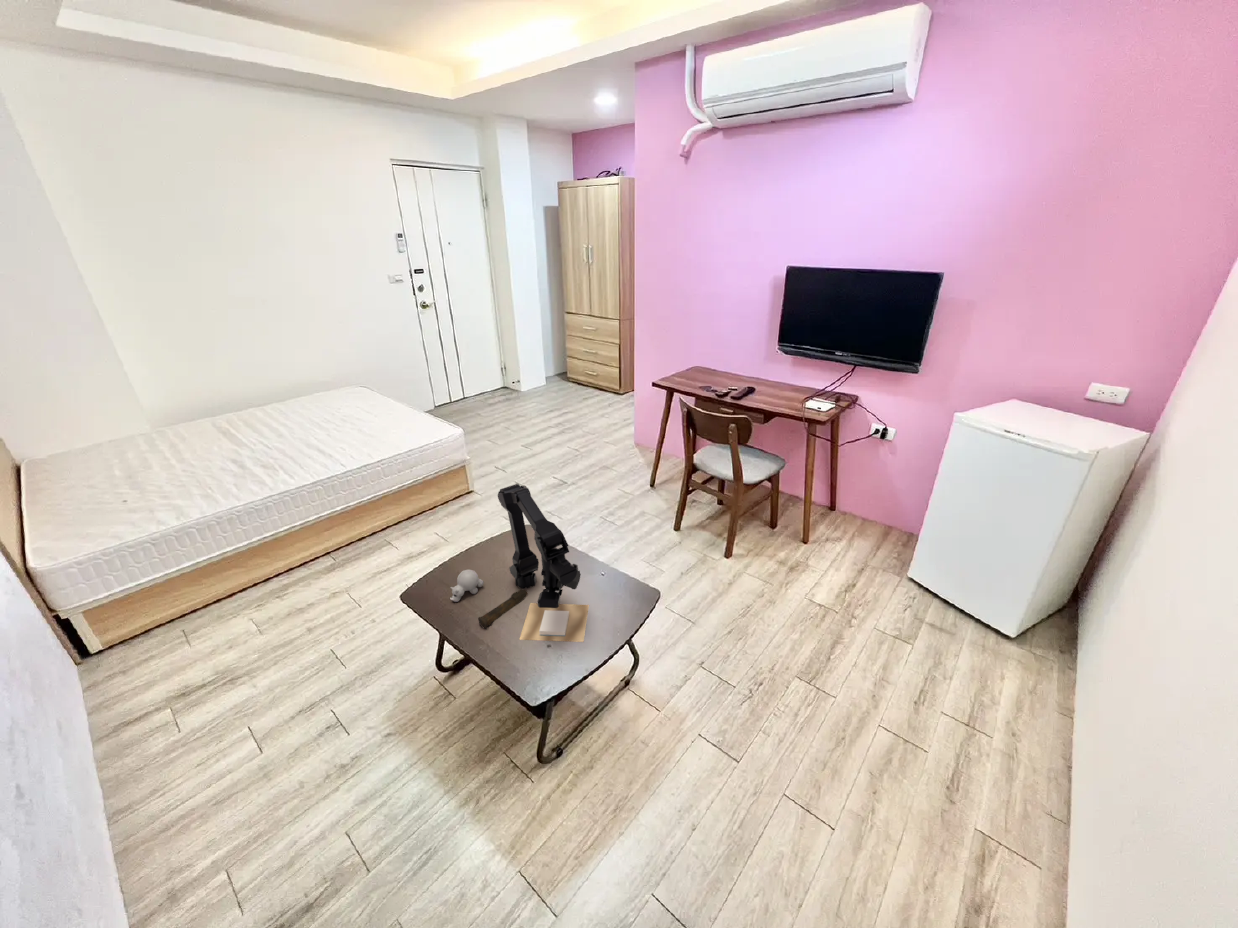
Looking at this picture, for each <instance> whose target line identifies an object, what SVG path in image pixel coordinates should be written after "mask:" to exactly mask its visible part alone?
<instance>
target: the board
mask: <svg viewBox="0 0 1238 928" xmlns="http://www.w3.org/2000/svg"><path fill="white" fill-rule="evenodd" d="M589 607H590V605H589V604H573V603H571V604H570V603H559V607H558V608H539V607H538V602H537V603H536V602H530V604H529V606H528V610H527V613H526V616H525V619H524V622H523V623H524V624H523V627H522V628H521V629H522V630H521V633H520V637H519V639H518V640H520V641H544V642H545V641H546V642H548V641H549V642H570V643H571V642H572V643H573V642H574V643H576V642H577V643H584V641H585V637H586V636H585V634H586V629H587V622H588V614H589ZM545 610H551V611H569V619H568V624H567V630H566V635H565V636H543V635H540V633H539V630H540V627H541V623H542V619H543V615H544V611H545Z"/></svg>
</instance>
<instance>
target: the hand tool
mask: <svg viewBox="0 0 1238 928" xmlns="http://www.w3.org/2000/svg"><path fill="white" fill-rule="evenodd" d="M528 595H529V594H528V591H527V589H525V588H520V589H519V590H517V591H515V592H513V593H512V594H511V595H510V597H509V598H508V599H507V600H505V601H504V602H502V603H500V604H499V605H497V606H496V607H495V608H492V609H491V610H490V611H488V612H487V613H484V614H483V615H482V616H478V617H477V618H478V624H479V625H480V626H481V627H482V629H485V630H487V628H488V627H490V626H491V625H492V623H494V622H495V621H496V620H498V618H500V617H501V616H503V615H504V614H506V613H507V612H509V611H510V610H511V609H513V608H514V607H516V606H517V605H519V604H520V603H522V601H524V600H525V599H526V597H527V596H528Z"/></svg>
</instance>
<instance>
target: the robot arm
mask: <svg viewBox="0 0 1238 928" xmlns="http://www.w3.org/2000/svg"><path fill="white" fill-rule="evenodd" d="M497 499H498V502H499V503H500V505H501V507H502V508H503V509H505V511H506V512H507V514H508V520H509V524H510V526H509V527H510V530H511V534H512V539H513V540H512V541H513V544H514V549H515V550H514V553H513V555H512V558H511V559H512V565H511V566H509V568H508V569H509V571H510V574H511V576H512V577H513V578H514V581H515V587H518V588H520V589H529V588H530V587H535V586H536V583H537V575H536V573H535V572H538V570H539V564H540V562H539V558H537V555H536V554H535V553H534V551H532V550H531V549H530V544H529V538H528V533H527V529H526V523H525V518H526V519H527V521H528V524H529V525H530V526H531V528H532V530H533V531H534V538H533V539H534V541H535V545H536V547H537V549H538V551H539V553H540V556H541V558H540V559H541V567H542V568H541V572H540V575H541V576H542V577H543V580H542V583H541V585H542V587H545V588H543V589H542V591H541V592H540V593H539V594H538V598H537V603H538V607H539V608H558V607H559V604H561V596H562V594H563V587H567V588H570V589H572V590H576V589H577V588H578V587H579V583H580V580H581V570H579V567H578V566H579V565H578V564H576V563H573V564H572V563H571V562H570V561H569V560H568V559H567V558H566V554H568V553H570V550H569V544H568V542H567V540H566V537H565V535H564V533H563V532H562V530H561V529H559V527H558V526H557V525H556V524H555V523H554V522H552V521H549V520H548V519H547V518H546V517H545V515H544V513H543V512H542V511H541V509H540V507H539V506H538V505H537V503H536V501H535V500H534V498H533V497H532V495H531V490H530V489H529V487H527V485H520V484H519V483H516V484H512V485H509V486H505V487H502V488H500V489H499V491H498V493H497ZM559 546H561V547H559ZM558 547H559V548H558Z"/></svg>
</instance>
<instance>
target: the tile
mask: <svg viewBox="0 0 1238 928" xmlns="http://www.w3.org/2000/svg"><path fill="white" fill-rule="evenodd" d="M568 619H569V611H551V610H545V611H544V615H543V619H542V623H541V627H540V630H539V633H540V635H543V636H565V635H566V630H567V624H568Z"/></svg>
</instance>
